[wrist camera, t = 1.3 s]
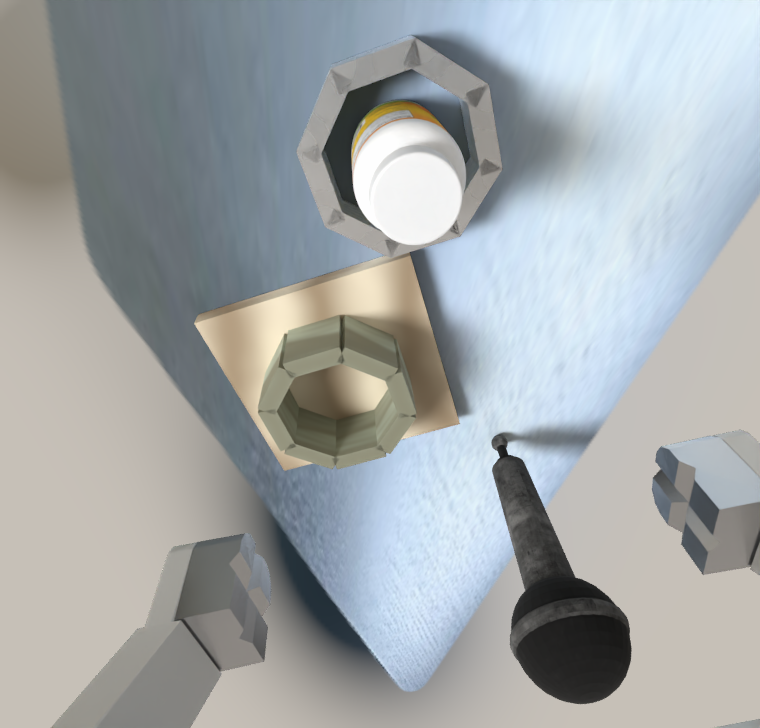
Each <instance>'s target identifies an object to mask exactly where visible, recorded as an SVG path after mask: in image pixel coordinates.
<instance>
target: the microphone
mask: <svg viewBox="0 0 760 728" xmlns="http://www.w3.org/2000/svg"><path fill="white" fill-rule="evenodd" d="M492 447H493V448H494V449H495V450H497V451H498V453H499V456H500V458H499V459H498V460H497V462H496V463H495V464H494V466H493V468H492V472H493V476H494V479H495V483H496V487H497V490H498V494H499V497H500V501H501V505H502V508H503V512H504V515H505V519H506V523H507V526H508V530H509V533H510V537H511V541H512V544H513V548H514V551H515V555H516V558H517V562H518V565H519V569H520V573H521V576H522V580H523V584H524V588H525V592H524V593H523V594H522V596H521V597H520V598H519V600H518V602H517V604H516V606H515V609H514V613H513V616H512V626H511V634H510V648H511V650H512V652H513V654H514V656H515V657H516V659H517V660H518V661H519V663H520V664H521V666H522V668H523V670H524V671H525V673H526V674H527V675H528V676H529V678H530V679H532V681H533V682H534V683H535V684H536V685H537V686H538V687H539V688H541V689H542V690H543V691H544V692H546V693H547V694H549V695H551V696H553V697H555V698H557V699H559V700H562V701H566V702H570V703H575V704H587V703H593V702H597V701H600V700H602V699H604V698H606V697H608V696H609V695H610V694H612V693H613V692H614V691H615V690H616V689H617V688H618V687H619V686H620V685H621V683H622V681H623V680H624V678H625V677H626V674H627V671H628V668H629V665H630V661H631V642H630V635H629V633H630V628H629V623H628V619H627V617H626V616H625V614H624V613H623V612H622V611H621V609H620V608H619V607H617V606H616V605H615V604H614V603H613V602H612V600H611V599H610V598H609V597H608V596H607V595H605V593H603V592H602V591H601V590H600V589H598V588H597V587H596V586H594V585H592V584H590V583H588V582H586V581H584V580H582V579H578V578H575V576H574V574H573V571H572V569H571V567H570V564H569V562H568V560H567V558H566V555H565V553H564V552H563V549H562V546H561V544H560V542H559V540H558V537H557V535H556V533H555V531H554V529H553V526H552V524H551V522H550V520H549V517H548V515H547V513H546V511H545V508H544V506H543V504H542V502H541V499H540V497H539V495H538V493H537V490H536V488H535V486H534V484H533V481H532V479H531V477H530V475H529V473H528V470H527V468H526V466H525V464H524V462H523V460H522V459H520V458H518V457H514V456H511V455H508V453H507V450H506V447H507V440H506V438H505V437H503V436H500V435H498V436H495V437H494V438H493V439H492Z"/></svg>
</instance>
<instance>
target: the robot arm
mask: <svg viewBox="0 0 760 728" xmlns="http://www.w3.org/2000/svg"><path fill="white" fill-rule="evenodd" d="M656 463H657V464H658V465H659V467H660V468H661V470H660V471H659V472H658V473H657V474H656V475H655V476H654V477H653V484H652V492H653V496H654V500H655V504H656V506H657V508H658V510H659V512H660V514H661V516H662V517H663V518H664V520H665V521H666V523H667V524H668V525H669V526H671V527H673V528H675V529H677V530H679V531H680V532H682V533H683V535H682V543H681V544H682V546H683V547H684V549H685V550H686V552H687V553H688V554H689V556H690V557H691V559H692V560H693V561H694V563H695V564H696V566H697V567H698V568H699V570H700V571H701V572H702V574H703V575H704V574H711V573H717V572H722V571H728V570H734V569H740V568H746V567H751V568H750V569H751V570H752V571H754V572H755V573H757V574H758V575H760V443H759V442H758V441H757V440H756V439H755V438H753V436H751V435H750V434H749V433H747V432H745V431H743V430H738V431H732V432H728V433H723V434H718V435H714V436H707V437H702V438H698V439H693V440H689V441H685V442H680V443H675V444H670V445H666V446H661V447H660V448H659V450H658V451H657V454H656ZM255 545H256V543H255V542H254V540H253V538H252V537H251V535H250V534H249V533H248V534H240V535H234V536H229V537H224V538H217V539H212V540H206V541H201V542H197V543H192V544H186V545H181V546H175V547H173V548H172V549H171V551H170V552H169V553H168V555H167V557H166V560H165V564H164V567H163V570H162V573H161V576H160V580H159V583H158V586H157V589H156V593H155V596H154V599H153V602H152V605H151V608H150V612H149V615H148V618H147V621H146V624H145V627H143V628H139V629H137V630H136V631H135V632H134V633H133V634H132V635H131V636H130V638H129V639H128V640H127V641H126V642H125V643H124V645H123V646H122V647H121V648H120V649H119V650H118V651H117V653H116V654H115V655H114V656H113V657H112V658H111V659H110V661H109V662H108V663H107V664H106V665H105V666H104V667H103V669H102V670H101V671H100V672H99V673H98V675H96V677H95V678H94V679H93V680H92V681H91V682H90V684H89V685H88V686H87V687H86V688H85V689H84V690H83V691H82V693H81V694H80V695H79V696H78V697H77V698H76V700H75V701H74V702H73V703H72V704H71V705H70V706H69V708H68V709H67V710H66V711H65V712H64V713H63V714H62V716H61V717H60V718H59V719H58V720H57V721H56V722H55V724H54V725H53V726H52V727H51V728H190V727H191V726H192V724H193V722H194V720H195V719H196V717H197V715H198V714H199V712H200V710H201V709H202V707H203V705H204V703H205V702H206V700H207V698H208V697H209V695H210V693H211V691H212V690H213V688H214V686H215V685H216V683H217V681H218V679H219V678H220V676H221V671H225V670H229V669H233V668H238V667H242V666H247V665H251V664H255V663H260V662H264V658H265V648H266V639H267V630H268V627H267V625H266V623H265V621H264V620H263V618H262V616H263V614H264V613H265V611H266V610H267V608H268V607H269V606H270V599H271V583H270V575H269V571H268V567H267V565H266V562H265V560H264V559H263V557H261V556H259V555H257V554H255V553H254V552H255ZM715 728H760V719H757V720H752V721H746V722H741V723H736V724H730V725H725V726H720V727H715Z"/></svg>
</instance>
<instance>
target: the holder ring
mask: <svg viewBox="0 0 760 728" xmlns="http://www.w3.org/2000/svg"><path fill="white" fill-rule="evenodd" d="M410 69H413V70H415V71H416V72H418V73H420V74H421V75H423V76H425V77H426V78H428V79H429V80H431V81H433V82H434V83H436V84H438V85H439V86H441V87H442V88H444V89H446V90H447V91H449V92H451V93H452V94H454V95H455V96H457V97H459V101H460V106H461V111H462V116H463V121H464V126H465V132H466V137H467V142H468V147H469V152H470V158H469V159H468V161H467V163H466V164H465V167H466V185H465V190H464V194H463V200H462V206H461V210H460V213H459V215H458V217H457V220H456V221H455V223H454V224H453V226H452V227H451V228H450V229H449V230H448V231H447V232H446V233H445V234H444V235H443V236H441V237H440V238H438V239H436V240H434V241H432V242H430V243H426V244H422V245H406V244H402V243H399V242H396V241H394V240H392V239H391V238H389V237H388V236H387V235H385V234H384V233H383V232H382V231H381V230H380V229H378V228H377V227H375V226H374V225H373V224H372V223H371V222H370V221H369V220H368V219H367V218H366V217H365V215H364V214H363V212H362V211H361V209H360V208H359V207H357V206H355V205H353V204H351V203H349V202H347V201H345V200H343V199H342V197H341V194H340V191H339V188H338V186H337V183H336V180H335V177H334V174H333V171H332V169H331V166H330V163H329V160H328V157H327V155H326V152H325V149H324V146H325V144H326V142H327V139H328V137H329V135H330V132H331V130H332V128H333V125H334V123H335V121H336V118H337V116H338V114H339V112H340V109H341V107H342V105H343V102H344V100H345V98H346V95H347V93H348V92H349V91H351V90H354V89H357V88H360V87H362V86H365V85H368V84H371V83H373V82H376V81H379V80H382V79H385V78H387V77H390V76H393V75H396V74H398V73H401V72H404V71H407V70H410ZM296 152H297V155H298V157H299V160H300V162H301V165H302V168H303V170H304V173H305V175H306V178H307V181H308V183H309V186H310V188H311V191H312V194H313V196H314V199H315V201H316V204H317V207H318V209H319V212H320V214H321V217H322V219H323V222H324V225H325V227H326V228H328V229H331V230H333V231H335V232H337V233H339V234H341V235H343V236H345V237H347V238H350V239H352V240H354V241H356V242H358V243H360V244H362V245H364V246H366V247H368V248H371V249H373V250H375V251H377V252H379V253H381V254H383V255H385V256H387V257H390V258H393V257H396V256H399V255H402V254H406V253H409V252H412V251H415V250H418V249H421V248H425V247H428V246H431V245H434V244H437V243H440V242H444V241H447V240H450V239H453V238H456V237H460V236H461V234H462V233H463V231H464V230H465V228H466V226H467V225H468V223H469V222H470V220H471V218H472V217H473V215H474V214H475V212H476V210H477V209H478V207H479V206H480V204H481V202H482V201H483V199H484V198H485V196H486V195H487V193H488V191H489V190H490V188H491V187H492V185H493V183H494V182H495V180H496V179H497V177H498V175H499V174H500V172H501V171H502V163H501V156H500V150H499V144H498V138H497V132H496V126H495V119H494V113H493V107H492V101H491V95H490V89H489V84H487V83H486V82H484V81H483V80H481V79H479V78H478V77H476V76H475V75H473V74H472V73H470V72H468V71H467V70H465V69H464V68H462V67H461V66H459V65H458V64H456V63H454V62H453V61H451V60H450V59H448V58H447V57H445V56H443V55H442V54H440V53H439V52H437V51H436V50H434V49H432V48H431V47H429V46H428V45H426V44H425V43H423V42H422V41H420V40H418V39H417V38H415V37H413V36H410V35H409V36H406V37H404V38H401V39H398V40H395V41H393V42H390V43H387V44H385V45H382V46H379V47H377V48H374V49H371V50H368V51H366V52H363V53H360V54H358V55H355V56H352V57H349V58H347V59H344V60H341V61H339V62H336V63H333V64H331V66H330V69H329V71H328V74H327V76H326V79H325V81H324V84H323V86H322V88H321V91H320V93H319V96H318V98H317V101H316V103H315V106H314V108H313V111H312V113H311V115H310V118H309V120H308V123H307V125H306V128H305V130H304V133H303V135H302V138H301V140H300V142H299V145H298V148H297V151H296Z"/></svg>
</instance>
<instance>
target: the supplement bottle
mask: <svg viewBox="0 0 760 728" xmlns="http://www.w3.org/2000/svg"><path fill="white" fill-rule="evenodd" d="M351 160H352V174H353V188H354V193H355V197H356V200H357V202H358V205H359V207H360V209H361V211H362V212H363V214H364V215H365V217H366V218H367V219H368V220H369V221H370V222H371V223H372V224H373V225H374V226H375V227H377V228H378V229H380V230H381V231H382V232H383V233H384V234H385V235H387V236H388V237H389V238H391V239H392V240H394V241H396V242H399V243H402V244H406V245H422V244H426V243H430V242H432V241H434V240H436V239H438V238H440V237H441V236H443V235H444V234H445V233H446V232H447V231H448V230H449V229H450V228H451V227H452V226H453V224H454V223H455V221H456V220H457V217H458V215H459V213H460V210H461V206H462V200H463V194H464V190H465V185H466V167H465V162H464V158H463V155H462V153H461V151H460V149H459V147H458V145H457V143H456V142H455V140H454V139H453V138H452V136H451V135H450V134H449V133H448V132H447V131H446V129H445V128H444V127H443V126H442V125H441V124H440V122H439V121H438V120H437V119H436V118H435V117H434V115H433V114H432V113H431V112H429V111H428V110H427V109H426V108H424V107H423V106H421V105H419V104H417V103H415V102H412V101H407V100H393V101H388V102H385V103H382V104H380V105H378V106H376V107H375V108H373V109H372V110H370V111H369V112H368V113H367V114H366V115H365V116H364V118H363V119H362V120H361V122H360V123H359V125H358V127H357V129H356V131H355V134H354V137H353V141H352V148H351Z"/></svg>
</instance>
